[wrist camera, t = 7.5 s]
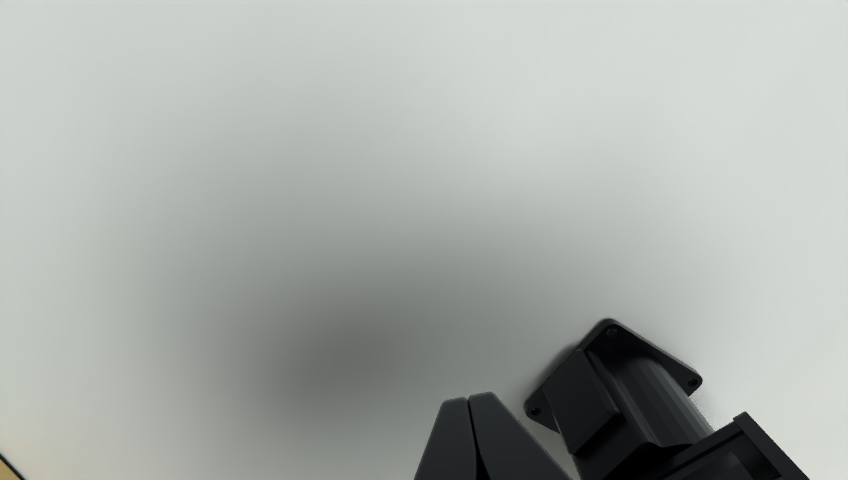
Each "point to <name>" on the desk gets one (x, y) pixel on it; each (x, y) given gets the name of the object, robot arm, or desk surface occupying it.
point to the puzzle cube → (7, 472)
